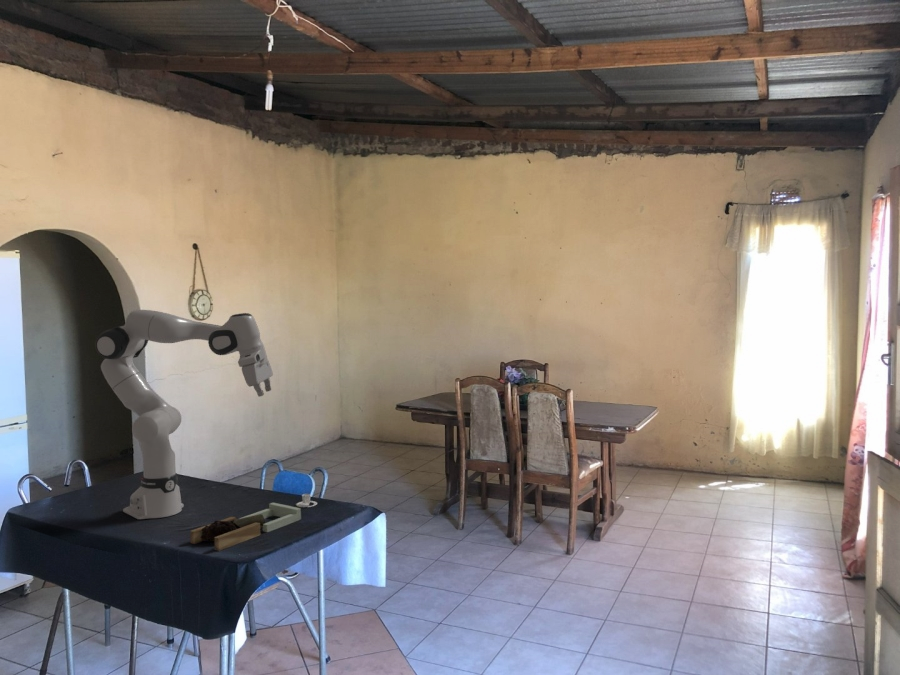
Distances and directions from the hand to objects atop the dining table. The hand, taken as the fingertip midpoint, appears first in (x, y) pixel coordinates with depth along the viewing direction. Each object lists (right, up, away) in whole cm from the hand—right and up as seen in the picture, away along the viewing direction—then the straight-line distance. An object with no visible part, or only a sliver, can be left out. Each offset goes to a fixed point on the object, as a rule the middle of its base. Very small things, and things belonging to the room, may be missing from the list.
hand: (265, 393), depth 249 cm
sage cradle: (+2, -46, -4) cm, 46 cm away
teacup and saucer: (+8, -45, +17) cm, 49 cm away
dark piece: (-6, -47, -17) cm, 50 cm away
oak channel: (-8, -47, -20) cm, 51 cm away
